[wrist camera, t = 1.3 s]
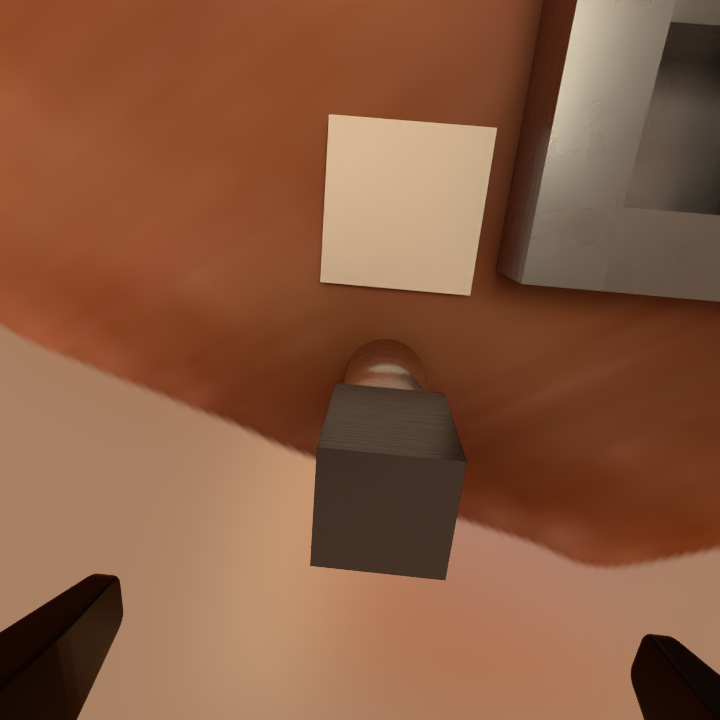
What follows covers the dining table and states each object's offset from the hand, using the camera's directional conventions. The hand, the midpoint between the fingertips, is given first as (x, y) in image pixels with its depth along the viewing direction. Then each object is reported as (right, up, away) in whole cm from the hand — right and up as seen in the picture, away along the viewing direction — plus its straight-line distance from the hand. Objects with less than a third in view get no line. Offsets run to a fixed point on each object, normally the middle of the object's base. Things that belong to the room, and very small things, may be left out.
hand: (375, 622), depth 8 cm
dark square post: (+1, +4, +12) cm, 13 cm away
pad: (+1, +10, +10) cm, 14 cm away
